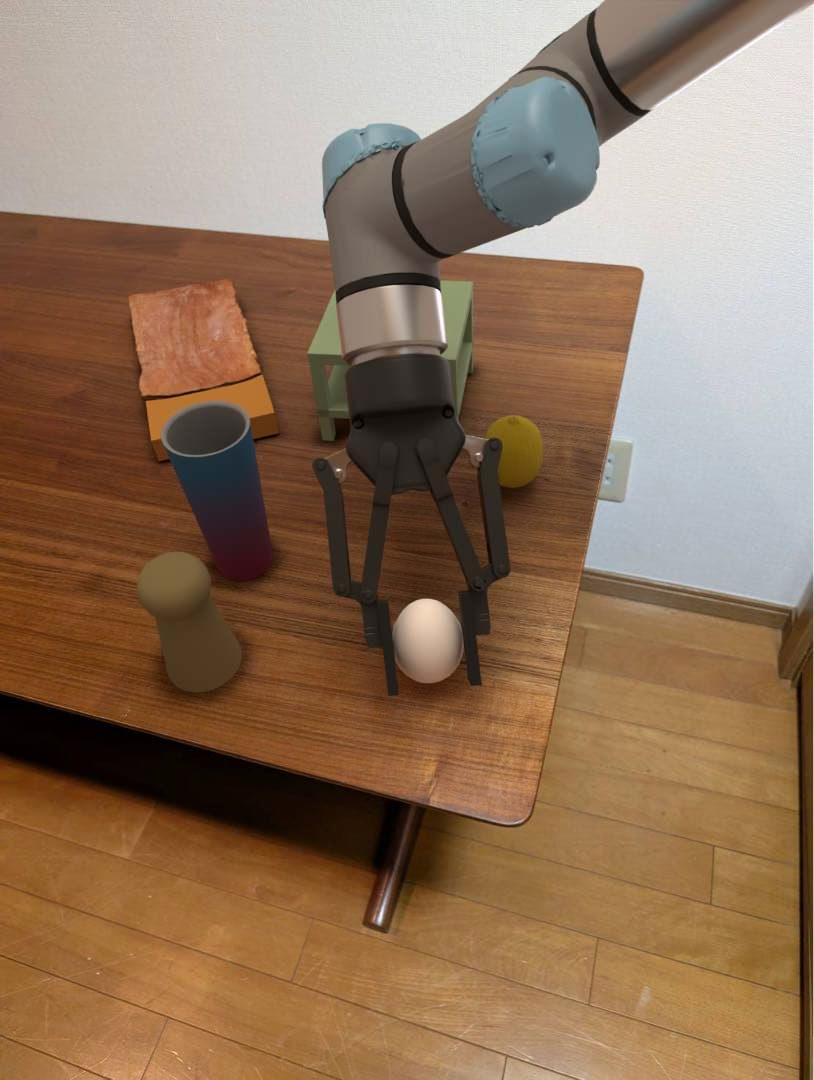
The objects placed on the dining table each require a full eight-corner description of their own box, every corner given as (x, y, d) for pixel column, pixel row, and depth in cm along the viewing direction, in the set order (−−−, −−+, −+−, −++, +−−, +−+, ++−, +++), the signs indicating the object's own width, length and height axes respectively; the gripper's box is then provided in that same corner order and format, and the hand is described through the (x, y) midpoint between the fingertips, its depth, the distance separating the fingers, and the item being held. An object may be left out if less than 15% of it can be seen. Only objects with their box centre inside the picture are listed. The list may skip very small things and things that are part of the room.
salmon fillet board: (154, 464, 84) (145, 439, 82) (134, 317, 104) (126, 293, 102) (281, 435, 86) (275, 409, 84) (237, 296, 106) (231, 272, 104)
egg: (458, 704, 62) (456, 642, 56) (388, 695, 63) (379, 633, 57) (469, 647, 66) (468, 583, 60) (403, 638, 66) (395, 575, 61)
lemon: (477, 501, 78) (477, 434, 72) (487, 463, 81) (488, 396, 75) (536, 508, 76) (541, 441, 71) (544, 469, 80) (549, 402, 74)
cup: (235, 601, 71) (191, 469, 60) (192, 560, 74) (143, 428, 64) (298, 559, 74) (267, 426, 63) (254, 521, 77) (218, 389, 67)
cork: (192, 622, 70) (155, 531, 62) (255, 641, 68) (226, 549, 60) (152, 680, 66) (107, 590, 58) (218, 701, 64) (181, 611, 56)
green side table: (473, 367, 92) (472, 270, 84) (457, 448, 83) (455, 348, 75) (350, 362, 95) (338, 266, 86) (322, 440, 85) (305, 342, 77)
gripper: (515, 358, 63) (549, 663, 63) (275, 385, 62) (312, 691, 63) (532, 335, 55) (571, 681, 56) (260, 365, 55) (301, 714, 55)
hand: (434, 686), depth 59 cm, fingers closed on egg, 5 cm apart
